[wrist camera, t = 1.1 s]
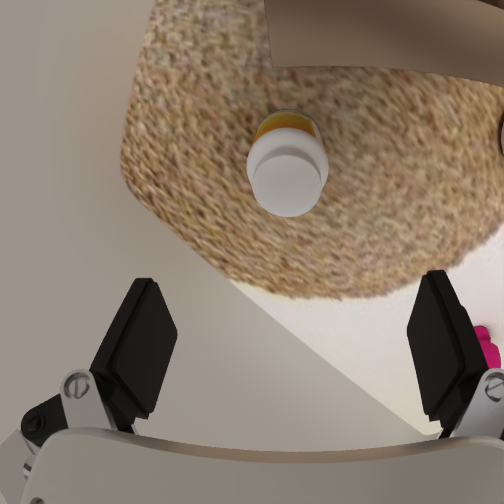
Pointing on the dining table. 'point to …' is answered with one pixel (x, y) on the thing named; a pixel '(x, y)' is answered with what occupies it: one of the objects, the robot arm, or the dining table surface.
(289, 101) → the dining table surface
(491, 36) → the drop box
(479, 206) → the dining table surface
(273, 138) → the supplement bottle
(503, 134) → the can
